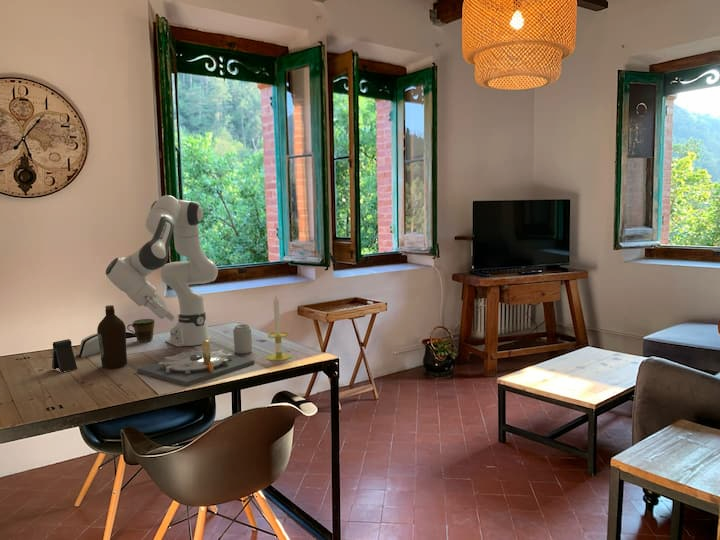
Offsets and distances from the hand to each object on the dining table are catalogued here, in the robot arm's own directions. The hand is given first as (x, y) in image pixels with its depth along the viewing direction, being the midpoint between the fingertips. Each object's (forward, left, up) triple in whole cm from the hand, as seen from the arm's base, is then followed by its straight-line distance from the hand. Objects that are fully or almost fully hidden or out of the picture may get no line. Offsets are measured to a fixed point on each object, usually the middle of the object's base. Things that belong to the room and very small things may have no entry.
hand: (172, 319), depth 208 cm
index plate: (-1, +10, -22) cm, 24 cm away
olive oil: (-34, -6, -22) cm, 41 cm away
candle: (+17, +38, -22) cm, 47 cm away
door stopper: (-47, -20, -22) cm, 56 cm away
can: (-3, +36, -22) cm, 42 cm away
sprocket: (-1, +10, -20) cm, 22 cm away
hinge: (-62, +1, -22) cm, 66 cm away
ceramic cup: (-63, +24, -22) cm, 71 cm away
